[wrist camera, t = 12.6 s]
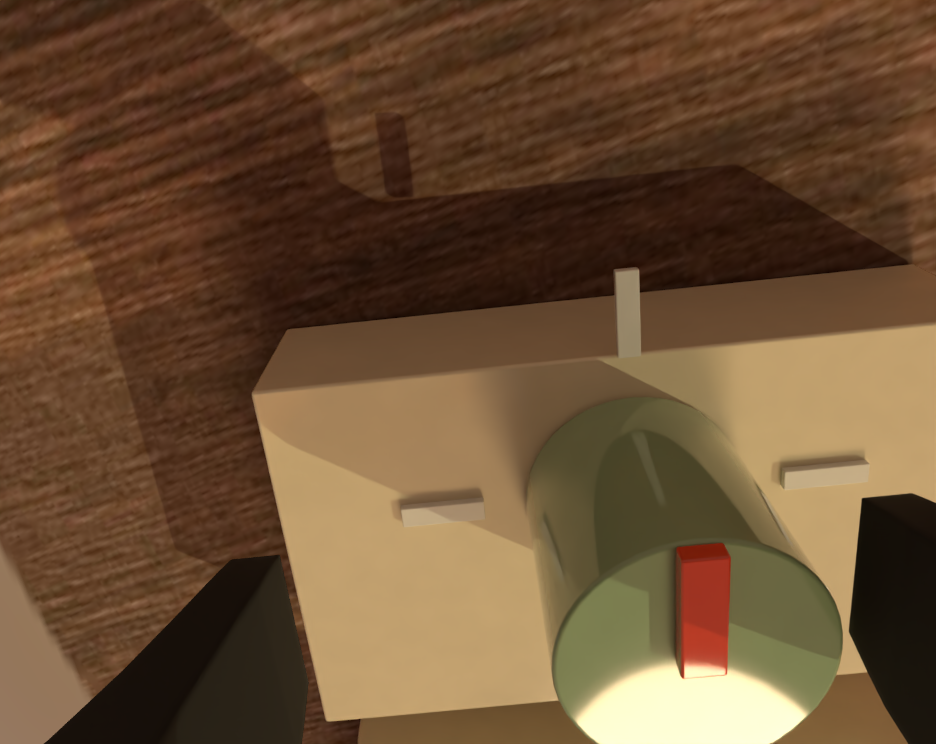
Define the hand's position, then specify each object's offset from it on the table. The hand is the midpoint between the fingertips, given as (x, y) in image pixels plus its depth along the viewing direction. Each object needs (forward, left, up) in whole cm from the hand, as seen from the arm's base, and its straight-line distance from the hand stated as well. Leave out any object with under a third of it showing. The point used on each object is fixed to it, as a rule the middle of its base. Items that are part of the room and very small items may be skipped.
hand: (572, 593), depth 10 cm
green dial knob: (+1, -1, -4) cm, 4 cm away
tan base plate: (+1, -2, -7) cm, 7 cm away
